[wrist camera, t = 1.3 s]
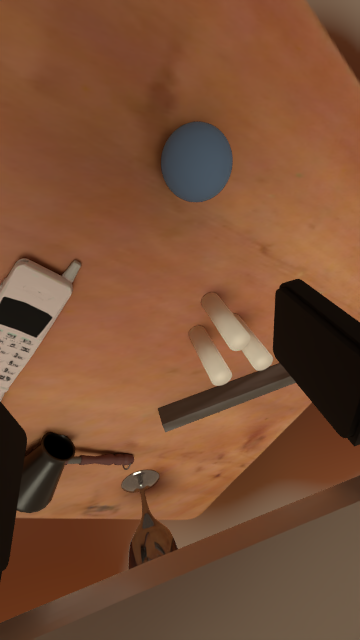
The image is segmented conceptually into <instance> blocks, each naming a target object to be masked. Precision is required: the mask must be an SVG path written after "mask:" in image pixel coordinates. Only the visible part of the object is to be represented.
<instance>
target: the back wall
mask: <svg viewBox="0 0 360 640" xmlns="http://www.w3.org/2000/svg"><path fill="white" fill-rule="evenodd" d="M293 383H296V382H295V381H294V379H293V378H292V377H291V376H290V375H289V373H288V372H287V371H286V370H285V369H284V367H283V366H282V365H281V364H280V363H279V364H277V365H274V366H271V367H269V368H266V369H264V370H261V371H258V372H255V373H252V374H250V375H247V376H244V377H242V378H239V379H236V380H234V381H231V382H228V383H226V384H224V385H221V386H217V387H215V388H212V389H209V390H207V391H204V392H201V393H198V394H196V395H193V396H190V397H188V398H185V399H182V400H180V401H177V402H174V403H172V404H169V405H166V406H163V407H161V408H158V411H159V415H160V418H161V422H162V425H163V428H164V430H165V432H167V431H170V430H173V429H175V428H178V427H181V426H183V425H186V424H188V423H191V422H194V421H196V420H199V419H202V418H204V417H207V416H209V415H212V414H215V413H217V412H220V411H223V410H225V409H228V408H230V407H233V406H236V405H238V404H241V403H244V402H246V401H249V400H251V399H254V398H257V397H259V396H262V395H265V394H267V393H270V392H272V391H275V390H278V389H280V388H283V387H286V386H288V385H291V384H293Z"/></svg>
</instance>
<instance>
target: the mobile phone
mask: <svg viewBox="0 0 360 640" xmlns="http://www.w3.org/2000/svg"><path fill="white" fill-rule="evenodd" d="M80 266H81V263H80V262H78V261H76V260H74V261H73V262H72V264H71V265H70V266H69V267H68V269H67V270H66V271H65V272H64V274H62V276H61V275H59V274H57V273H55V272H53V271H51V270H49V269H47V268H45V267H43V266H41V265H39V264H37V263H35V262H33V261H31V260H29V259H27V258H22V259H19V260H18V261H17V262H16V263H15V265H14V267H13V268H12V270H11V271H10V273H9V275H8V276H7V278H5V279H4V281H3V282H2V284H1V285H0V399H1V400H2V398H1V397H3V396H2V395H4V394H3V393H5V392H7V391H8V389H9V387H10V385H11V384H12V382H13V381H14V380H15V378H16V377H17V376H18V374H19V373H20V372H21V370H22V369H23V368H24V366H25V365H26V363H27V362H28V361H29V359H30V358H31V356H32V355H33V353H34V352H35V350H36V349H37V348H38V346H39V345H40V343H41V342H42V340H43V338H44V337H45V335H46V334H47V332H48V331H49V329H50V328H51V326H52V325H53V323H54V321H55V320H56V318H57V317H58V315H59V313H60V312H61V310H62V309H63V307H64V305H65V304H66V302H67V300H68V299H69V297H70V296H71V294H72V291H73V286H72V282H73V281H74V280H73V279H74V278H75V276H76V274H77V272H78V270H79V268H80ZM1 400H0V402H1Z"/></svg>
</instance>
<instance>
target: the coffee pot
mask: <svg viewBox="0 0 360 640" xmlns="http://www.w3.org/2000/svg"><path fill="white" fill-rule="evenodd" d="M74 454H75V447H74V444H73V443H72V441H71V440H70V439H69V438H68V437H67V436H64V435H58V434H56V433H53V432H49V433H47V434H45V435H44V437H43V439H42V442H41V445H40V446H39V447H37V448H36V449H35V450H33V451H32V452H31V453H30V454H28V455H27V456H26V457H25V458H24V464H23V471H22V478H21V484H20V491H19V498H18V504H17V511H20V512H26V513H32V512H37V511H40V510H41V509H43V508H45V507H46V506H47V505H48V503H49V502H50V501H51V500H52V497H53V495H54V492H55V489H56V487H57V484H58V481H59V479H60V476H61V473H62V471H63V468H64V465H67V464H79V465H85V464H93V463H96V464H104V465H111V464H115V465H122V466H123V468H124V465H129V467H130V465H131V464H132V463H133V462H134V457H133V455H130V454H115V455H113V454H105V455H100V456H85V455H80V456H79V457H73V456H74ZM129 467H128V468H127V469H129ZM124 469H125V468H124ZM127 469H125V470H127Z"/></svg>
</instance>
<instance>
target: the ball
mask: <svg viewBox="0 0 360 640" xmlns="http://www.w3.org/2000/svg"><path fill="white" fill-rule="evenodd" d="M161 168H162V174H163V177H164V180H165V182H166V184H167V186H168V187H169V189H170V190H171V191H172V192H173V193H174V194H175V195H176V196H178V197H179V198H181V199H183V200H186V201H189V202H203V201H206V200H209V199H211V198H213V197H214V196H216V195H217V194H218V193H219V192H220V191H221V190H222V189H223V188H224V186H225V185H226V183H227V181H228V179H229V177H230V174H231V170H232V151H231V148H230V145H229V143H228V141H227V139H226V137H225V136H224V134H223V133H222V132H221V131H220V130H219V129H217V128H216V127H215V126H213V125H211V124H208V123H205V122H191V123H187V124H184V125H182V126H181V127H179V128H178V129H176V130H175V131H174V132H173V133H172V134H171V136H170V137H169V138H168V140H167V142H166V144H165V146H164V148H163V152H162V157H161Z"/></svg>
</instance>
